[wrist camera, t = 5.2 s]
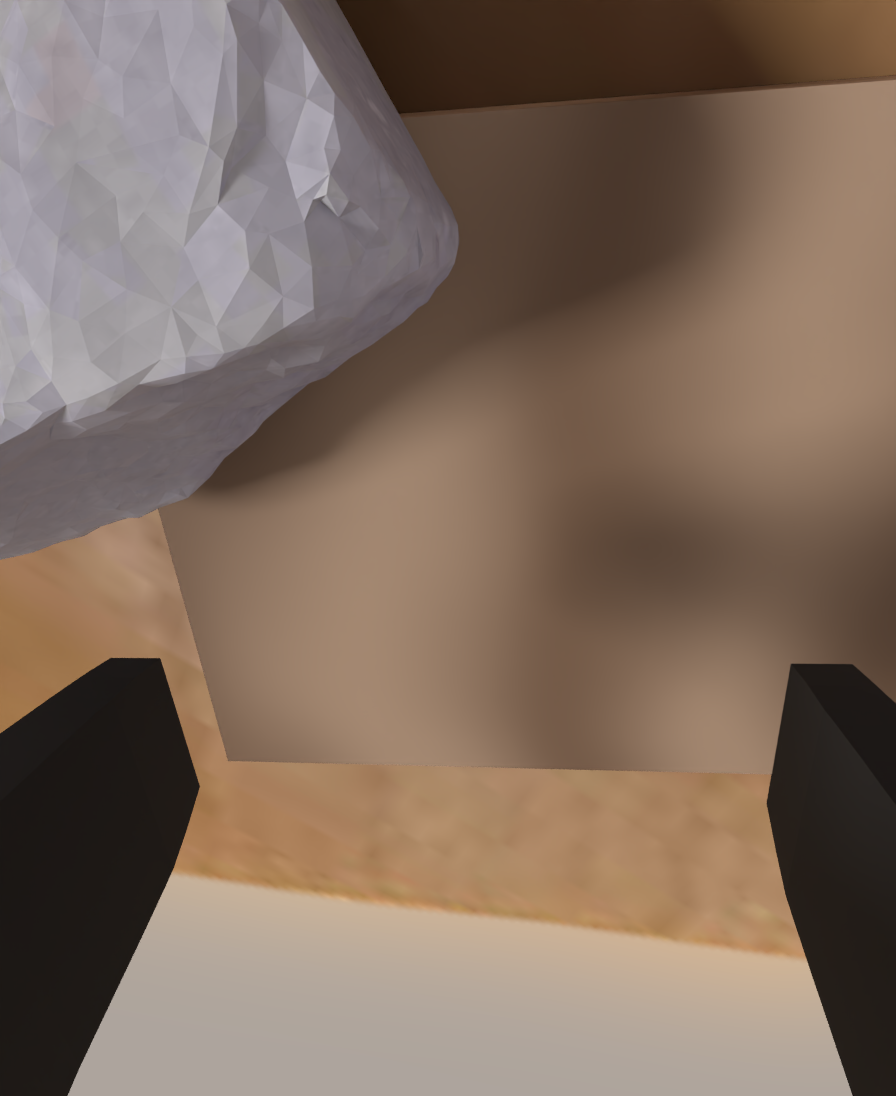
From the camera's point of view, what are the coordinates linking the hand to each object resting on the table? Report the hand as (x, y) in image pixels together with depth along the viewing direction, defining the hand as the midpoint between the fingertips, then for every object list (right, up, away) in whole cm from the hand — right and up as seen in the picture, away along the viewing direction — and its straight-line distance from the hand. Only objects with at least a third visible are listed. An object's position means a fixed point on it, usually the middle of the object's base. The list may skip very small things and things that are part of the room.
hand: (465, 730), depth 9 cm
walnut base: (+3, +4, +6) cm, 8 cm away
